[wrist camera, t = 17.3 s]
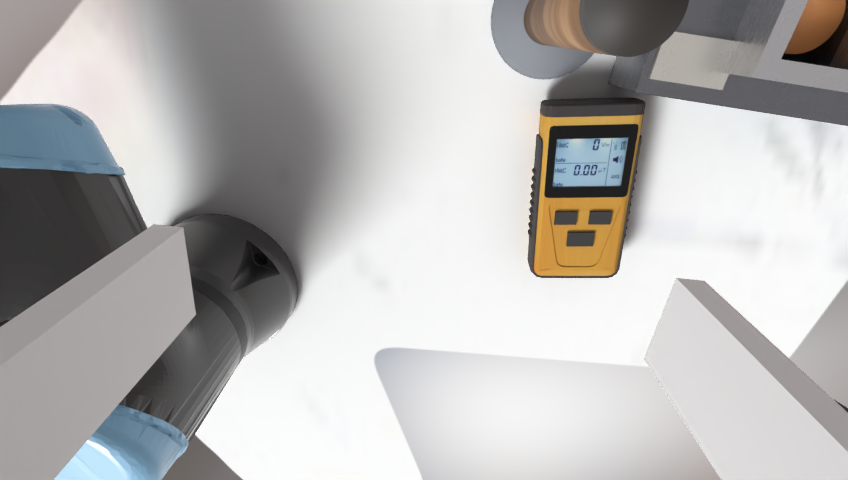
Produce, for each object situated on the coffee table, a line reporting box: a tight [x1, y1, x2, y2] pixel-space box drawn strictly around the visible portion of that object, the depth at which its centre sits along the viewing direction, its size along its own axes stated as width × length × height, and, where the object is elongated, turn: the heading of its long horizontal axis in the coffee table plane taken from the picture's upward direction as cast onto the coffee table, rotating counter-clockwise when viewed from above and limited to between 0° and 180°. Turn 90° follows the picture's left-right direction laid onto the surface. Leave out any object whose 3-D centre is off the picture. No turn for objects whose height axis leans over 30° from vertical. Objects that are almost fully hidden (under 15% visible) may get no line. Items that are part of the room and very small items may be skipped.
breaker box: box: [609, 0, 848, 126], centre depth 29 cm, size 18×12×10 cm, turn 82°
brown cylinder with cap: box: [524, 0, 689, 57], centre depth 26 cm, size 4×4×18 cm
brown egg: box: [784, 0, 846, 54], centre depth 30 cm, size 4×4×5 cm
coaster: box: [491, 0, 594, 79], centre depth 34 cm, size 9×9×1 cm
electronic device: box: [528, 98, 645, 278], centre depth 38 cm, size 8×16×3 cm, turn 2°
